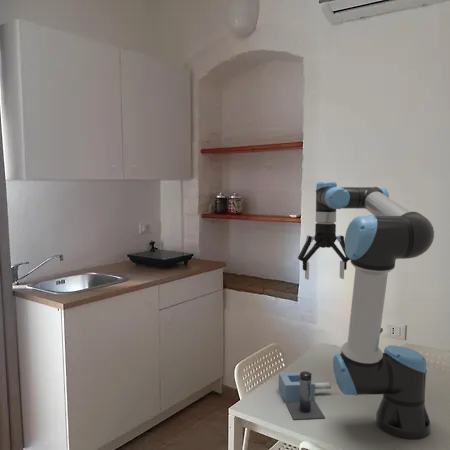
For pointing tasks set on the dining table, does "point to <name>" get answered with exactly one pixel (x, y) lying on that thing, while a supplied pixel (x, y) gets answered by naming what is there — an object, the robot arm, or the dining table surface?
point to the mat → (299, 415)
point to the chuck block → (296, 387)
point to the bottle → (305, 392)
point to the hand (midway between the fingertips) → (324, 278)
